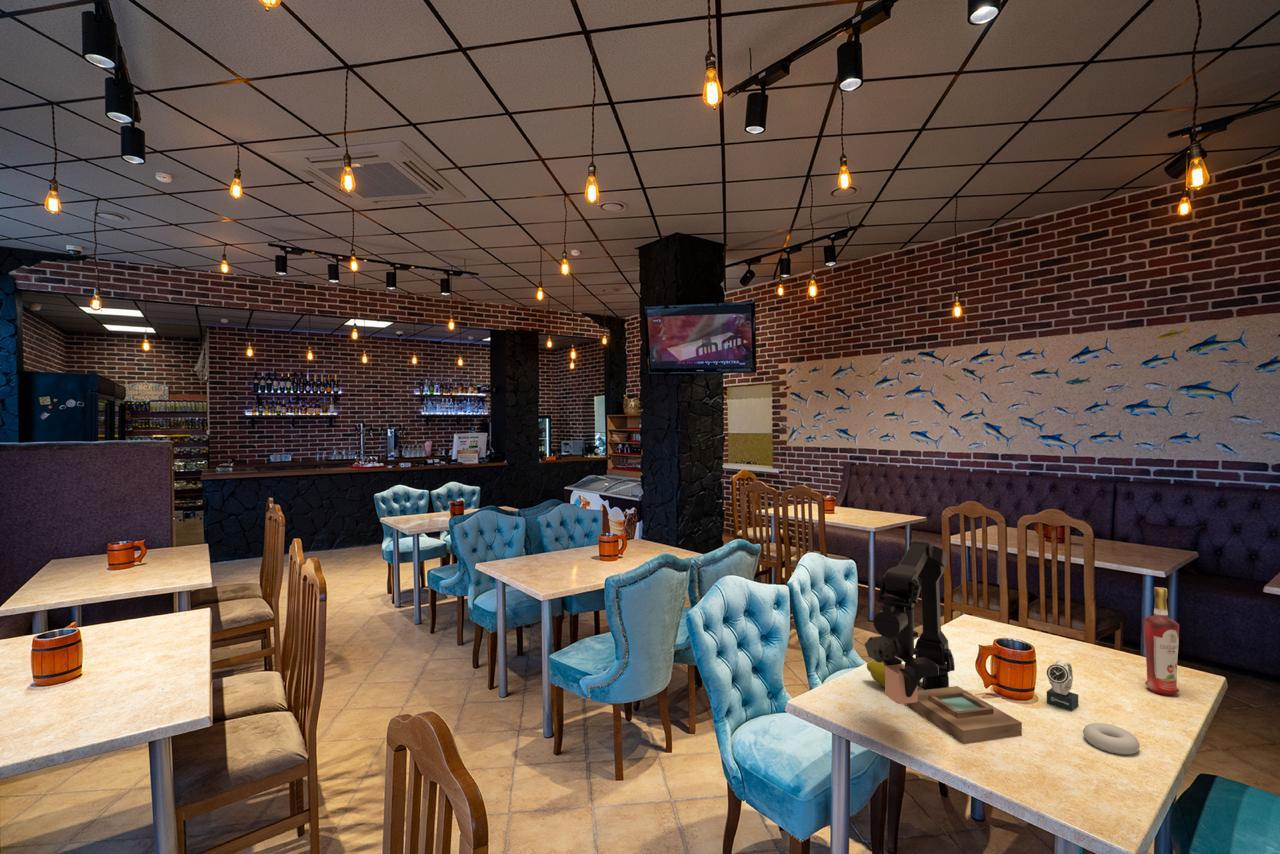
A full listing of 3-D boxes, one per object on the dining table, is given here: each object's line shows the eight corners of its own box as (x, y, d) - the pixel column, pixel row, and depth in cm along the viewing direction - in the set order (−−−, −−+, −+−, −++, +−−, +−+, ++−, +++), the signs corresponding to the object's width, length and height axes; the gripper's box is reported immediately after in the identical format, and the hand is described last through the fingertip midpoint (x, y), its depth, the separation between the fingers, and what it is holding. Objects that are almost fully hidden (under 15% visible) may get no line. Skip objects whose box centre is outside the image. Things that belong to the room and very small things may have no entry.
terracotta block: (885, 694, 140) (885, 665, 140) (903, 692, 141) (903, 663, 141) (898, 704, 135) (898, 674, 135) (917, 702, 136) (917, 672, 136)
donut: (1072, 738, 135) (1117, 761, 126) (1071, 723, 136) (1116, 744, 126) (1104, 732, 138) (1151, 753, 128) (1104, 717, 138) (1151, 738, 129)
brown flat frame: (905, 703, 152) (905, 687, 152) (957, 697, 156) (957, 681, 156) (963, 743, 133) (963, 725, 133) (1021, 735, 136) (1021, 717, 136)
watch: (1043, 705, 151) (1043, 662, 151) (1056, 697, 156) (1055, 655, 156) (1069, 713, 146) (1068, 669, 146) (1081, 705, 151) (1081, 662, 151)
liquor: (1165, 686, 162) (1164, 585, 162) (1187, 698, 154) (1186, 592, 154) (1137, 685, 162) (1135, 584, 162) (1157, 697, 155) (1156, 591, 155)
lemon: (913, 689, 161) (913, 660, 161) (899, 697, 156) (898, 667, 156) (877, 676, 169) (876, 649, 169) (862, 684, 164) (861, 655, 164)
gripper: (847, 616, 146) (848, 678, 146) (896, 642, 128) (896, 714, 127) (887, 613, 148) (887, 674, 148) (940, 638, 130) (940, 708, 130)
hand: (901, 691), depth 138 cm, fingers closed on terracotta block, 5 cm apart
